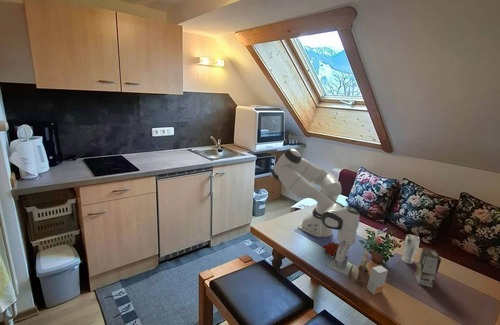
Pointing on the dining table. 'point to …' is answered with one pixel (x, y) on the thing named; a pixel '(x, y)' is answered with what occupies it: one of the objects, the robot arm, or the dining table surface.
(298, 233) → the dining table surface
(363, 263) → the brown flat upright piece
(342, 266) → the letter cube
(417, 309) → the dining table surface
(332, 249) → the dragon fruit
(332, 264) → the coaster
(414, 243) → the beer glass
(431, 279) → the coffee box
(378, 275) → the skincare box
